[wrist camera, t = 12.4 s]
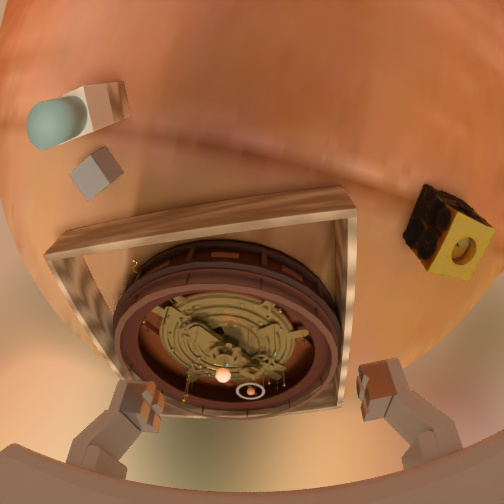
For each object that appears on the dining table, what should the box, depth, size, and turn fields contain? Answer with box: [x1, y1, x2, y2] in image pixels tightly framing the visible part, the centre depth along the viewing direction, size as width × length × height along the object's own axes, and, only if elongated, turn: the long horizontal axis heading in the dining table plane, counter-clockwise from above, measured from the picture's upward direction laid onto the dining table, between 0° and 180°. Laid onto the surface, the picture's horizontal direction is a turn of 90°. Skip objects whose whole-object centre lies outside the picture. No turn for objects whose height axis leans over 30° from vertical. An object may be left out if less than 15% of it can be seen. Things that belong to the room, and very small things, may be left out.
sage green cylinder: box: [27, 95, 88, 150], centre depth 24 cm, size 5×5×5 cm
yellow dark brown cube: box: [403, 184, 496, 281], centre depth 39 cm, size 10×10×10 cm
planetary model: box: [113, 241, 342, 420], centre depth 53 cm, size 43×45×12 cm
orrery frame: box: [43, 186, 357, 418], centre depth 53 cm, size 48×46×8 cm
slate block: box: [69, 146, 124, 202], centre depth 38 cm, size 5×5×5 cm
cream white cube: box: [58, 83, 115, 145], centre depth 28 cm, size 6×6×6 cm
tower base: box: [106, 81, 131, 123], centre depth 33 cm, size 6×6×6 cm
